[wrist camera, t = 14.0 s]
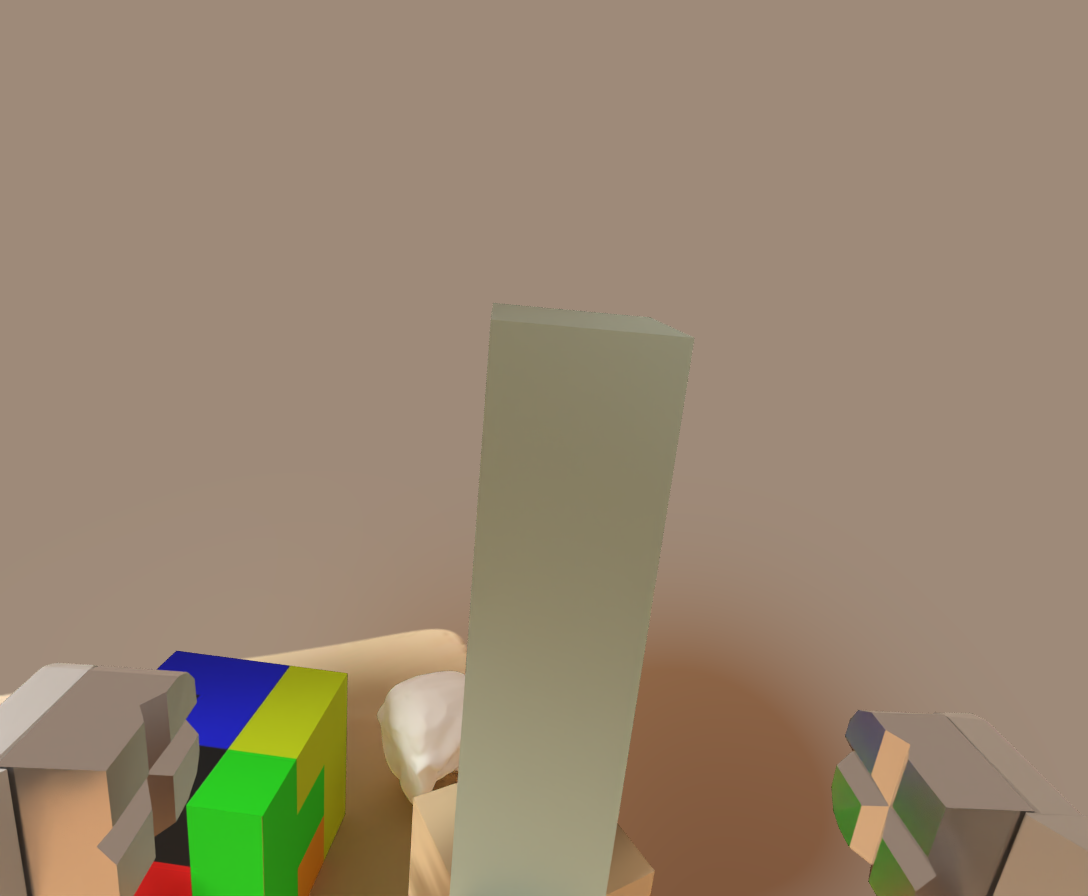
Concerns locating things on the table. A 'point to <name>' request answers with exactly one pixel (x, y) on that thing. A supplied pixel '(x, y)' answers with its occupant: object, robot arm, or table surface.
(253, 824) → the puzzle toy
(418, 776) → the white animal figurine
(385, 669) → the table surface
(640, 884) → the tower top
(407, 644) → the table surface
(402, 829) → the table surface
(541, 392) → the pillar
